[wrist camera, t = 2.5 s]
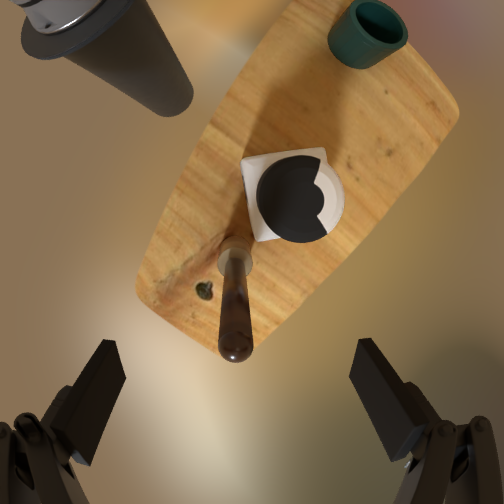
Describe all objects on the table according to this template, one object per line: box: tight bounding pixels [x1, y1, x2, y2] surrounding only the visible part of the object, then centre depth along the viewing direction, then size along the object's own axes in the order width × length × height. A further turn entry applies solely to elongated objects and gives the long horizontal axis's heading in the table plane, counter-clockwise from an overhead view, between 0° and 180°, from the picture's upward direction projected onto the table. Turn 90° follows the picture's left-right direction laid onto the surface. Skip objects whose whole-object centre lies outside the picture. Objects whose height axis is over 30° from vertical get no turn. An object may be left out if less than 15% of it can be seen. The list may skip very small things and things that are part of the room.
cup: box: [328, 0, 408, 69], centre depth 22 cm, size 7×7×8 cm
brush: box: [218, 236, 253, 363], centre depth 24 cm, size 4×4×20 cm
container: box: [240, 147, 345, 243], centre depth 25 cm, size 8×8×13 cm
